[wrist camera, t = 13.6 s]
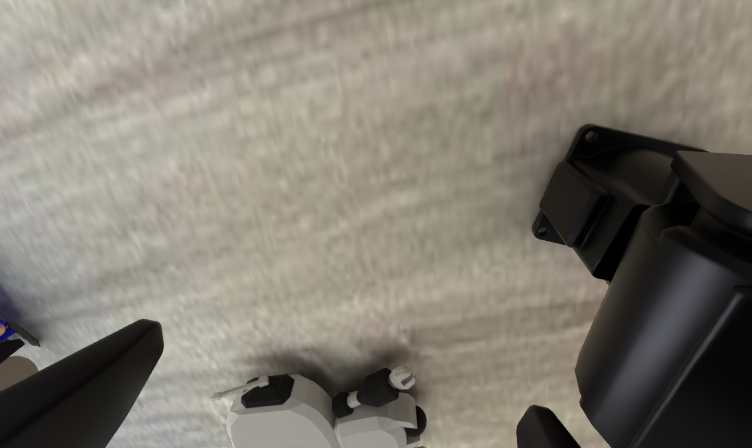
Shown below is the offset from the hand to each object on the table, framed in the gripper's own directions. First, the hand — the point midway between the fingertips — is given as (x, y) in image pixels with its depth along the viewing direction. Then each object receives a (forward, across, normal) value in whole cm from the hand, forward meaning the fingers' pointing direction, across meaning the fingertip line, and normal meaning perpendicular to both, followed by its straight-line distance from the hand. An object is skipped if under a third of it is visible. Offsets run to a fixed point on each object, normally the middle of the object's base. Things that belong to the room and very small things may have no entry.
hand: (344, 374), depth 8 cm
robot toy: (+13, 0, +20) cm, 24 cm away
